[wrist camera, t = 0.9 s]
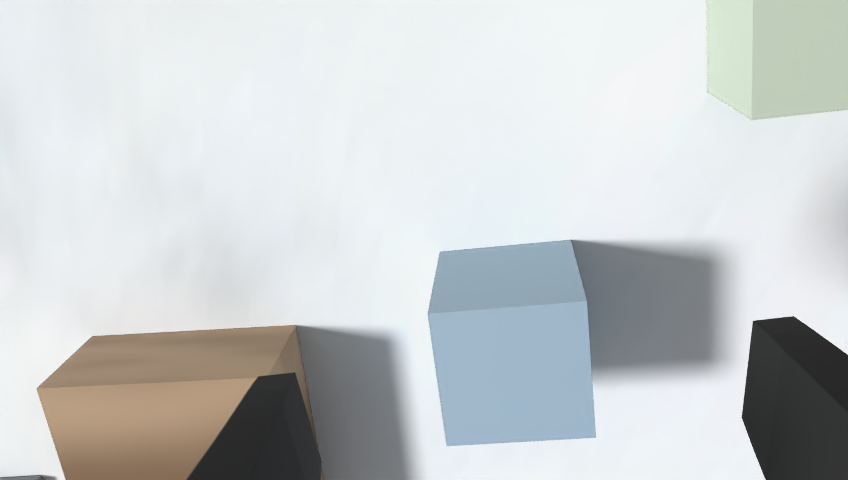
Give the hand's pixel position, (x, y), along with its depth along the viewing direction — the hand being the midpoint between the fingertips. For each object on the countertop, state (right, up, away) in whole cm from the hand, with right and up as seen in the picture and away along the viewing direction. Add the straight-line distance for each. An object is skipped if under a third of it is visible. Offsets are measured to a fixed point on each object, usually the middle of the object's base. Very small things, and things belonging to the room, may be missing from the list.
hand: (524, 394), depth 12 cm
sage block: (+9, +9, +11) cm, 17 cm away
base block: (-10, -5, +18) cm, 21 cm away
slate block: (+1, 0, +15) cm, 15 cm away
